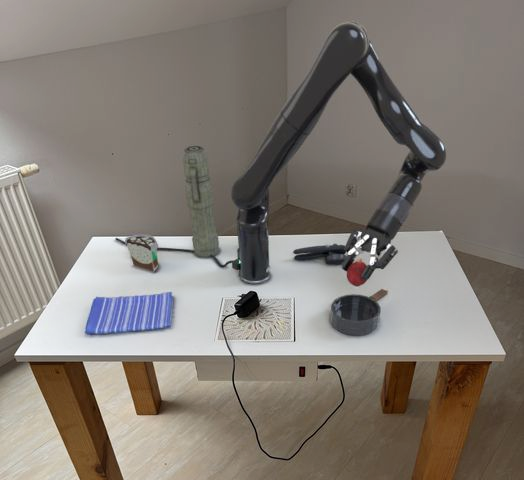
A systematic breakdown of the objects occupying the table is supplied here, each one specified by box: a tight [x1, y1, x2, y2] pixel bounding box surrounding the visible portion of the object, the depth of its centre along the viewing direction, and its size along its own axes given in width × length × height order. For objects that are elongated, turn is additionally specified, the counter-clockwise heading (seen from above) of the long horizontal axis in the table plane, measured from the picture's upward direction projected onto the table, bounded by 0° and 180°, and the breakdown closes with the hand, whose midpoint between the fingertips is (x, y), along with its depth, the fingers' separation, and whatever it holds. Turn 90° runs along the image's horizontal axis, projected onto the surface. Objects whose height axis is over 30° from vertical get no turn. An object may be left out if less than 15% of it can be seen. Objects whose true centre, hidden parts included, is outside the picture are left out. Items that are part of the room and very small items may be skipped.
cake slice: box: [124, 233, 159, 274], centre depth 158 cm, size 12×6×10 cm, turn 58°
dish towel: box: [84, 291, 174, 335], centre depth 138 cm, size 17×24×3 cm
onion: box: [346, 257, 368, 288], centre depth 122 cm, size 6×6×8 cm
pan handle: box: [368, 288, 389, 303], centre depth 135 cm, size 7×2×2 cm, turn 133°
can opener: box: [292, 243, 347, 266], centre depth 158 cm, size 18×7×6 cm, turn 81°
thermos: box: [182, 145, 220, 259], centre depth 156 cm, size 9×12×35 cm
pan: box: [329, 294, 382, 336], centre depth 130 cm, size 13×13×5 cm
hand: (353, 274), depth 121 cm, fingers closed on onion, 5 cm apart
